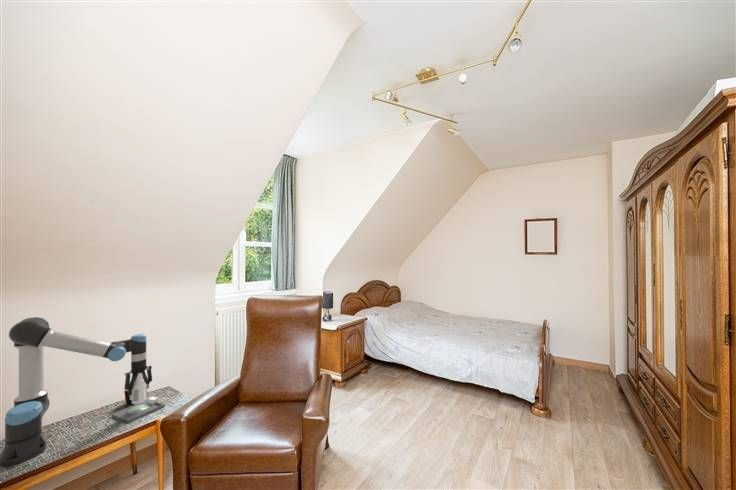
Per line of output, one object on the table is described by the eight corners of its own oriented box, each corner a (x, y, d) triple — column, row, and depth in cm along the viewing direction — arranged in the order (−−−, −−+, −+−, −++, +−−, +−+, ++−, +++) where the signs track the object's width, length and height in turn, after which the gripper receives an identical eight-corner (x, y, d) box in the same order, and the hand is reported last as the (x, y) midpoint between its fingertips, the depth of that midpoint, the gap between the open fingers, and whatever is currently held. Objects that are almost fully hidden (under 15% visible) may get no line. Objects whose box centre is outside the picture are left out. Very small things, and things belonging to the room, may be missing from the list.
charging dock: (127, 423, 168) (127, 415, 168) (111, 416, 175) (111, 409, 175) (164, 406, 186) (164, 399, 186) (148, 401, 193) (148, 394, 194)
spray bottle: (134, 400, 183) (134, 371, 184) (147, 398, 185) (147, 369, 186) (129, 405, 176) (129, 375, 177) (142, 403, 178) (143, 373, 179)
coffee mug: (133, 406, 187) (133, 390, 188) (120, 406, 187) (120, 390, 188) (147, 397, 199) (147, 382, 199) (135, 397, 199) (135, 383, 199)
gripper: (123, 366, 171) (123, 405, 170) (159, 355, 189) (159, 391, 188) (116, 364, 174) (116, 403, 174) (152, 354, 192) (152, 389, 191)
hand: (138, 397), depth 181 cm, fingers closed on spray bottle, 7 cm apart
